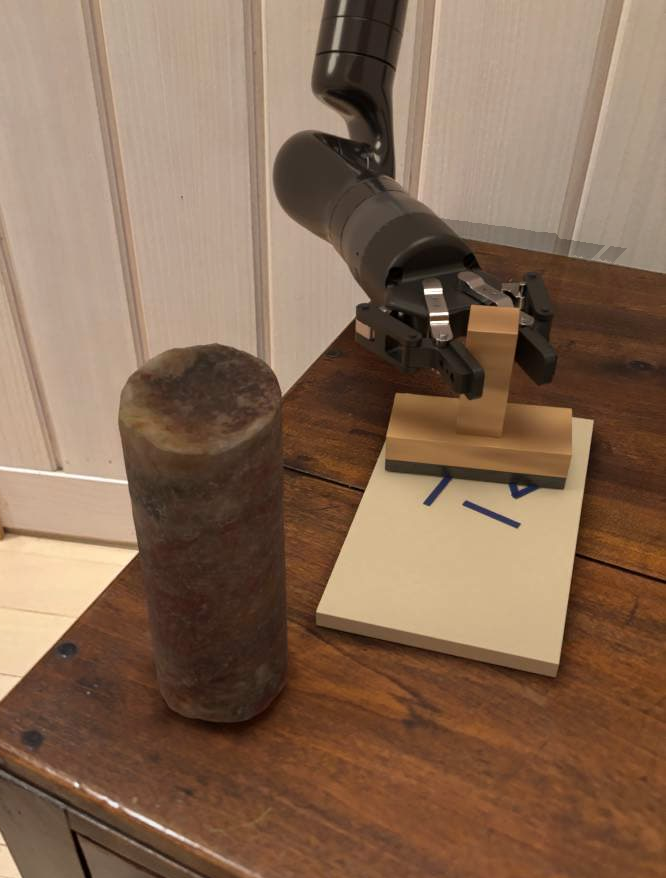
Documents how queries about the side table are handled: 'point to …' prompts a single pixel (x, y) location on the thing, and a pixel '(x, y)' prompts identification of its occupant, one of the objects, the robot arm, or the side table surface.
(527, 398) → the side table surface
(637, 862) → the side table surface
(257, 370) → the dark brown cylinder
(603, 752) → the side table surface
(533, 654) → the board
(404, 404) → the eraser
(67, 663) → the side table surface
